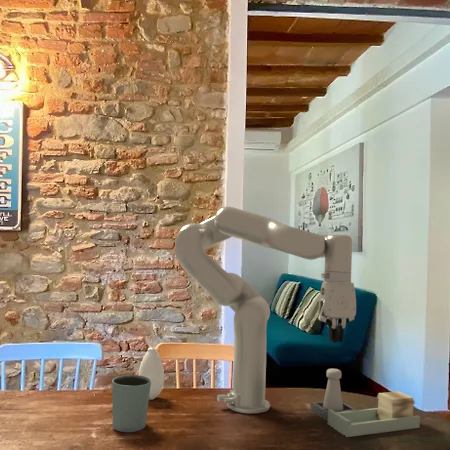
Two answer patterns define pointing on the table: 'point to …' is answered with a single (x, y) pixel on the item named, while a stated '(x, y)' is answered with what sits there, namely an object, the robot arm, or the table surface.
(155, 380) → the white vase
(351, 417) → the bay
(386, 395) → the crate
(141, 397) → the green cup
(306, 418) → the table surface
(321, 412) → the grey square frame
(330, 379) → the salt shaker
